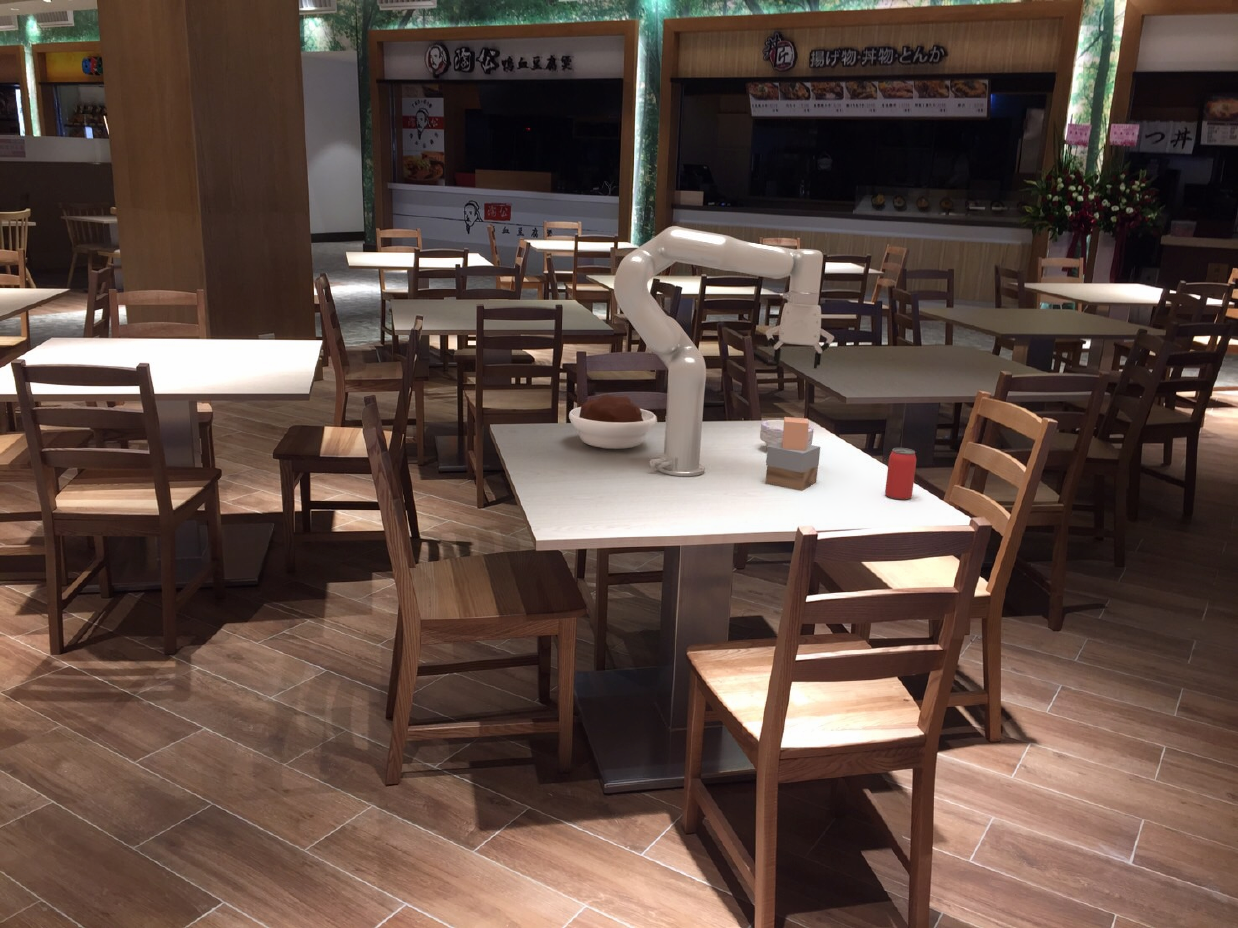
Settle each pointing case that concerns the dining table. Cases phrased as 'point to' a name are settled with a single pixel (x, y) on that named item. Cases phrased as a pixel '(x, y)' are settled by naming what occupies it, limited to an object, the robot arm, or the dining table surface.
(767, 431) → the paper bowls
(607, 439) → the bowl of brown food
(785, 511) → the dining table surface
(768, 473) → the walnut slab
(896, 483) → the beer can
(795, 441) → the terracotta block
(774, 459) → the slate slab
